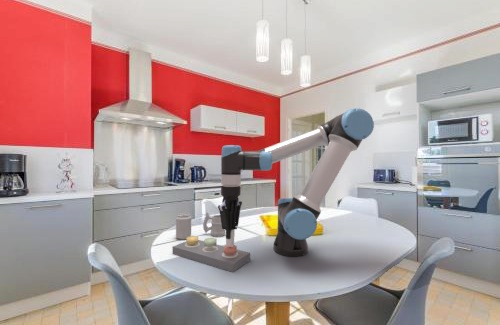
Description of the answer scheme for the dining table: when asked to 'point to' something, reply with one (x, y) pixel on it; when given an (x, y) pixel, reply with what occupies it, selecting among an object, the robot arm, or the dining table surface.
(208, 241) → the button sage
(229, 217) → the robot arm
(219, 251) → the console
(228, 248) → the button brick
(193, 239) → the button ochre
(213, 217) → the mug
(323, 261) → the dining table surface
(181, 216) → the can
